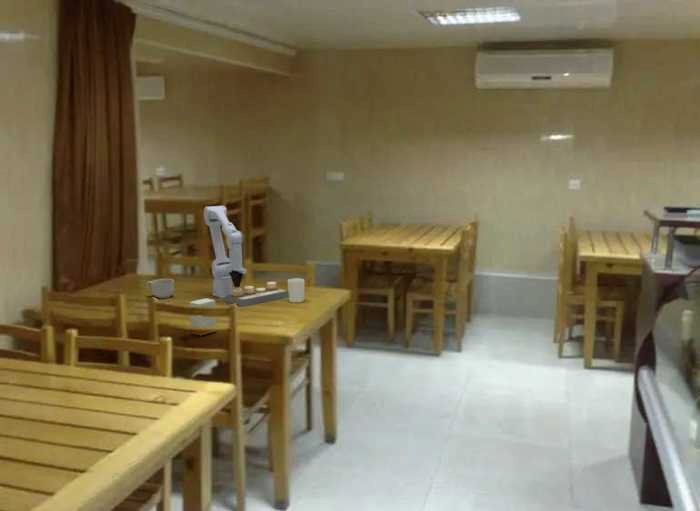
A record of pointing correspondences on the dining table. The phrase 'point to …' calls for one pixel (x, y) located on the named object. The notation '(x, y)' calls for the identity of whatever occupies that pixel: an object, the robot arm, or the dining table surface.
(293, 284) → the white cup
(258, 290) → the button
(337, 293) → the dining table surface
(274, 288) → the button
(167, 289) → the teacup
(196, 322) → the small box
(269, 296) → the board
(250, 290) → the button
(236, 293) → the button
